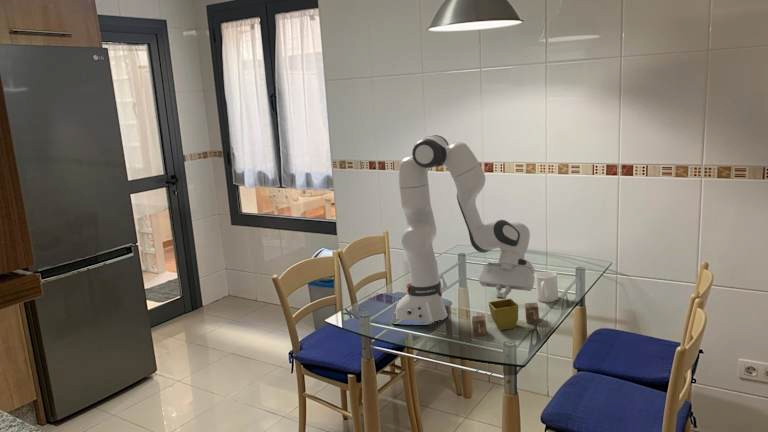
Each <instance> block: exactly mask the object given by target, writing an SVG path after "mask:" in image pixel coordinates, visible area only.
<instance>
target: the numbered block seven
mask: <svg viewBox="0 0 768 432" xmlns="http://www.w3.org/2000/svg"><path fill="white" fill-rule="evenodd" d="M524 311H525V312H524V313H525V321H526V323H527V324H535V323H540V312H539V304H538V302H525V303H524Z"/></svg>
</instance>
